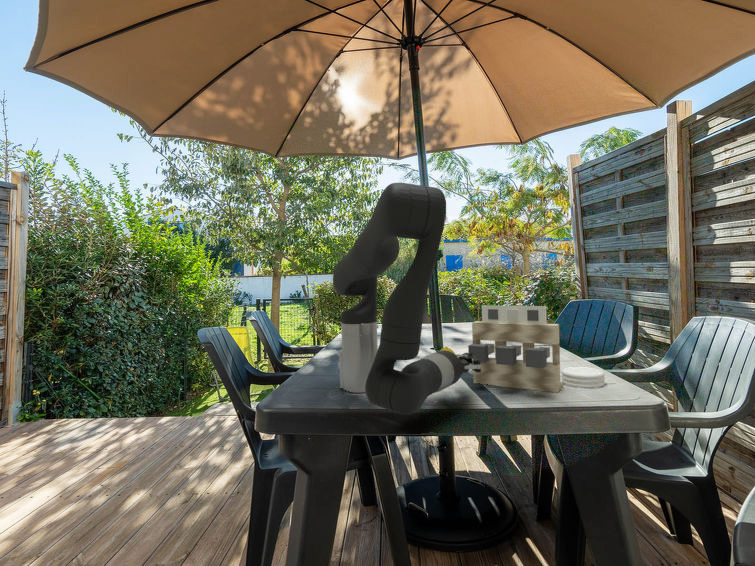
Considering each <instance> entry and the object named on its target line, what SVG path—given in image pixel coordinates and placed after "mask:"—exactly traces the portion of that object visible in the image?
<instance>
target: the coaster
mask: <svg viewBox="0 0 755 566" xmlns="http://www.w3.org/2000/svg"><path fill="white" fill-rule="evenodd" d="M605 374H606V373H605V372H604V371H603V370H601V369H599V368H594V367H587V366H586V367H585V366H571V367H564V368H562V369H561V382H563V385H565V386H567V387H572V388H578V387H580V388H581V389H595V388H594V387H599V388H602V387H604V386H605V384H606V383H605V379H606V378H605ZM601 386H602V387H601ZM580 388H579V389H580Z"/></svg>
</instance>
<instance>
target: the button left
mask: <svg viewBox="0 0 755 566" xmlns="http://www.w3.org/2000/svg"><path fill="white" fill-rule="evenodd" d="M467 347H468V352H467V353H472V354H473V355H474V357H476V358H477V359H479V360H481V363H485V362H487V361H489V358H490V357H489V356H490V355H492V354H495V343H484V344H482V343H481V344H473V343H472V344H471V343H470V344H469V345H468V346H467ZM488 357H489V358H488Z"/></svg>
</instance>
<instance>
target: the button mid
mask: <svg viewBox="0 0 755 566" xmlns="http://www.w3.org/2000/svg"><path fill="white" fill-rule="evenodd" d="M521 355H522V345H516V344H515V345H514V344H512V345H507V346H498V347H496V364H501V365H512V366H513V365H514V364H516V363H517V360H518V359H517V357H520V356H521Z"/></svg>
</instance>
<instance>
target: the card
mask: <svg viewBox="0 0 755 566" xmlns="http://www.w3.org/2000/svg"><path fill="white" fill-rule="evenodd" d="M481 318H482V320H481V321H482V323H509V324H537V325H547V324H548V321H547V306H546V305H545V306H541V305H540V306H538V305H536V306H535V305H534V306H533V305H483V304H482V305H481Z"/></svg>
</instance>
